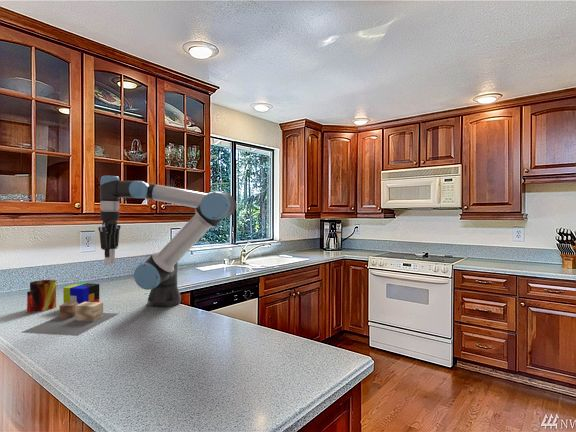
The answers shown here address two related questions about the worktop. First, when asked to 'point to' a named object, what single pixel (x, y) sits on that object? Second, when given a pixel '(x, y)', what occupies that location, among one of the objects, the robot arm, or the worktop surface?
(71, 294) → the puzzle toy
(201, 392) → the worktop surface
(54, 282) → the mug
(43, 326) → the mat
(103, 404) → the worktop surface
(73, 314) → the walnut cube
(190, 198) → the robot arm
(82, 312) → the oak block
